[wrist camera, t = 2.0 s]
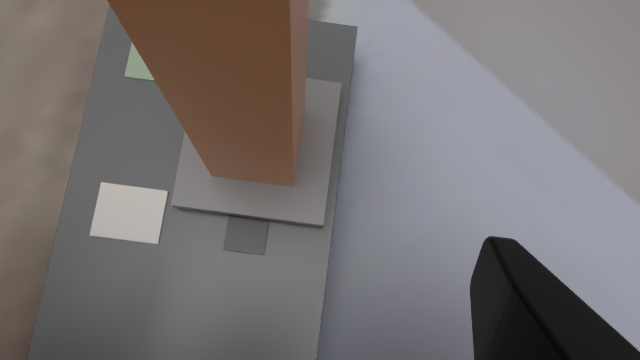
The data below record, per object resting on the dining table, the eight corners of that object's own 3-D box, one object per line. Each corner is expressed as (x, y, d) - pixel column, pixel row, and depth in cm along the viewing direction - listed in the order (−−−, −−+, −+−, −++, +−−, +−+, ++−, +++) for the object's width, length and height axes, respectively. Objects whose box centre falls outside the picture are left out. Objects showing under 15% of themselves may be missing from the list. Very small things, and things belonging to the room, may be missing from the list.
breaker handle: (322, 227, 17) (365, 80, 7) (173, 207, 17) (-25, 26, 7) (340, 88, 18) (402, -236, 8) (199, 68, 18) (64, -283, 8)
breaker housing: (262, 761, 17) (256, 840, 14) (-21, 725, 17) (-78, 799, 14) (350, 59, 22) (357, 25, 19) (133, 29, 22) (111, -9, 19)
